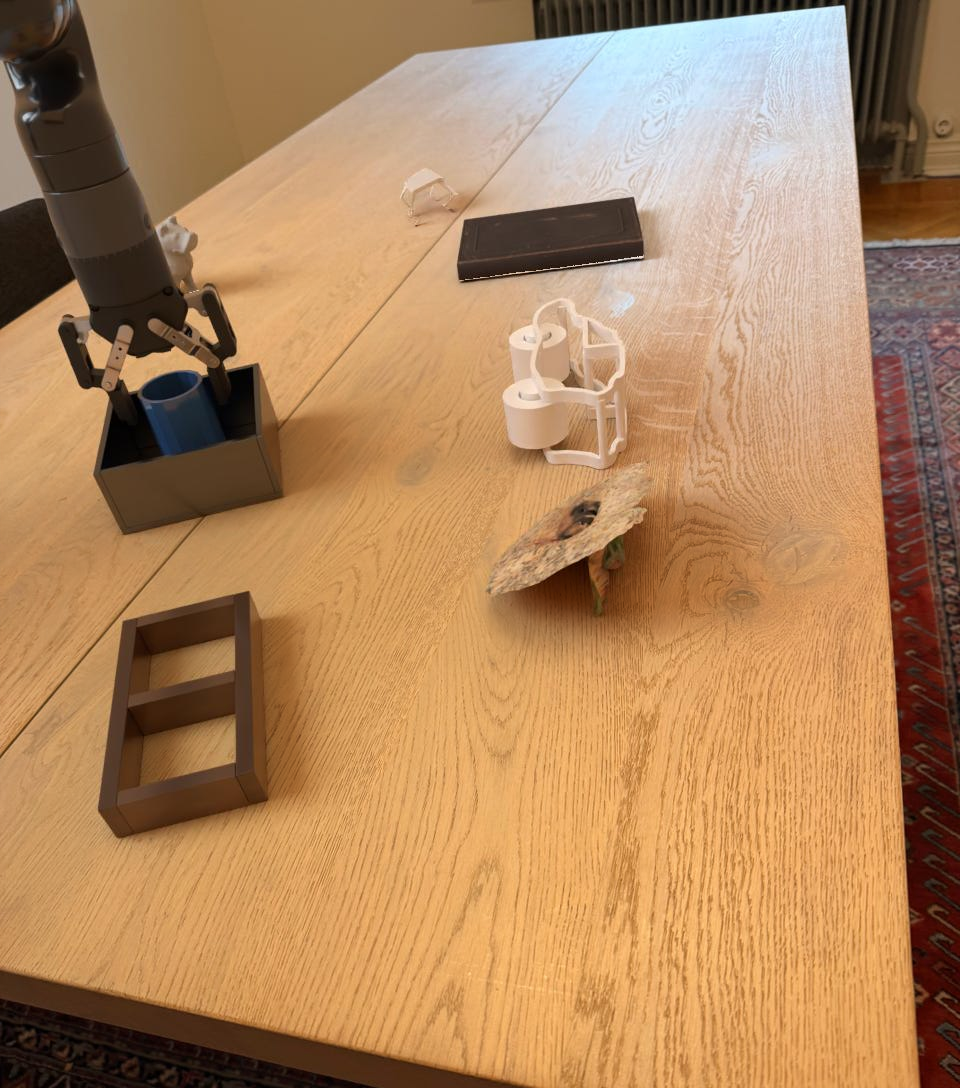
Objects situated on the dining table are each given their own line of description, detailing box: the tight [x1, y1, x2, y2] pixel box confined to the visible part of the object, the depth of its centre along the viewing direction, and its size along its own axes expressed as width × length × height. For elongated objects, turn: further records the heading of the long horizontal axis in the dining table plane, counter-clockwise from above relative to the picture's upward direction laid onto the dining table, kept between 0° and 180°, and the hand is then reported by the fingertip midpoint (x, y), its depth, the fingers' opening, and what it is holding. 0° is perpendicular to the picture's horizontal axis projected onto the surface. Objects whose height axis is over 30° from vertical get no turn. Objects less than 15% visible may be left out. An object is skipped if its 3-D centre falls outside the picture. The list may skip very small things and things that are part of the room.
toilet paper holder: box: [502, 297, 628, 470], centre depth 88 cm, size 20×11×7 cm, turn 176°
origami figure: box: [399, 166, 459, 223], centre depth 138 cm, size 12×8×5 cm
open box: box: [92, 362, 284, 536], centre depth 91 cm, size 15×15×7 cm
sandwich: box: [485, 460, 655, 617], centre depth 71 cm, size 18×14×8 cm
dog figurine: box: [155, 214, 199, 293], centre depth 125 cm, size 5×13×11 cm, turn 70°
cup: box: [137, 369, 226, 456], centre depth 89 cm, size 6×6×9 cm
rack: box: [97, 590, 269, 839], centre depth 67 cm, size 10×19×3 cm, turn 12°
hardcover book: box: [456, 196, 645, 281], centre depth 121 cm, size 16×23×2 cm
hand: (178, 411), depth 88 cm, fingers open, 8 cm apart
